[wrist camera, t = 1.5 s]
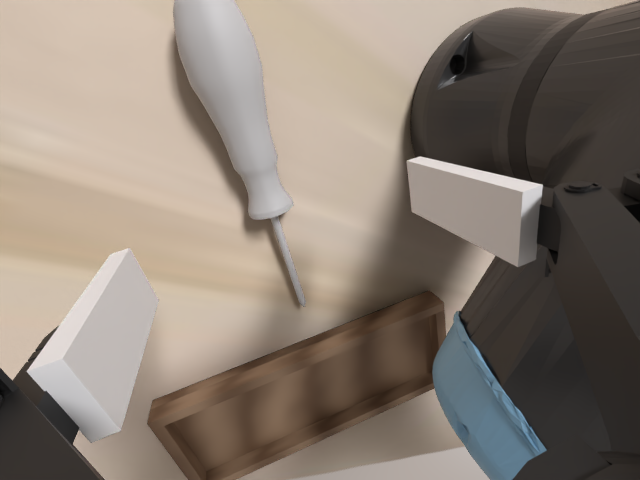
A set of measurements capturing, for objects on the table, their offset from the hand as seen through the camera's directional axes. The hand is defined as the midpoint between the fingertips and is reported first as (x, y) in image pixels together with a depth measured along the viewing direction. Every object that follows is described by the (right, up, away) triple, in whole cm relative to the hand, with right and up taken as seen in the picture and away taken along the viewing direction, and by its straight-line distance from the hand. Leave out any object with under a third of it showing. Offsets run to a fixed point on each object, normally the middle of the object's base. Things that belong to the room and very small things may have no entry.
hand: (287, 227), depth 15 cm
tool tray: (+1, -16, +20) cm, 26 cm away
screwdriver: (-3, +4, +11) cm, 12 cm away
